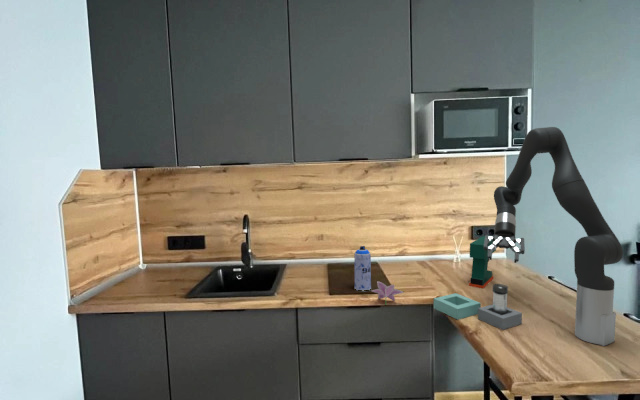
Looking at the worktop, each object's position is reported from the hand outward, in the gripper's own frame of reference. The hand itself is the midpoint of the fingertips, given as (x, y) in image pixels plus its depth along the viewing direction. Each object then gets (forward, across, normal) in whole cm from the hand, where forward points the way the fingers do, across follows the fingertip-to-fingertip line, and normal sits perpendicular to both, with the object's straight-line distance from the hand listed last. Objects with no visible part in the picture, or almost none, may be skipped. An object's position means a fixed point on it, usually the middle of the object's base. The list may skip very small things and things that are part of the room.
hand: (502, 260), depth 133 cm
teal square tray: (+21, -15, +7) cm, 26 cm away
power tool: (-13, -9, +41) cm, 44 cm away
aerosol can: (+16, -57, +12) cm, 61 cm away
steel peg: (+22, 0, +5) cm, 23 cm away
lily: (+24, -41, +4) cm, 48 cm away
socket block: (+22, 0, +5) cm, 23 cm away
